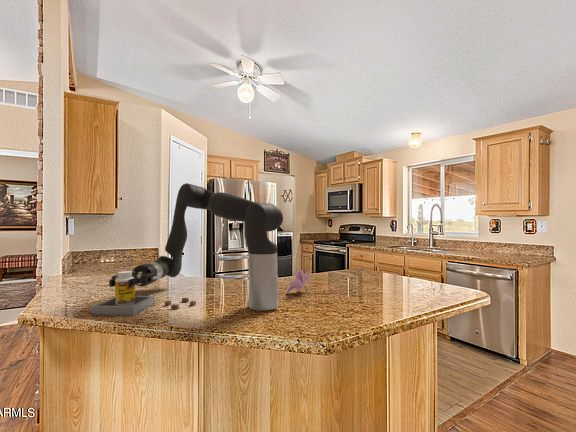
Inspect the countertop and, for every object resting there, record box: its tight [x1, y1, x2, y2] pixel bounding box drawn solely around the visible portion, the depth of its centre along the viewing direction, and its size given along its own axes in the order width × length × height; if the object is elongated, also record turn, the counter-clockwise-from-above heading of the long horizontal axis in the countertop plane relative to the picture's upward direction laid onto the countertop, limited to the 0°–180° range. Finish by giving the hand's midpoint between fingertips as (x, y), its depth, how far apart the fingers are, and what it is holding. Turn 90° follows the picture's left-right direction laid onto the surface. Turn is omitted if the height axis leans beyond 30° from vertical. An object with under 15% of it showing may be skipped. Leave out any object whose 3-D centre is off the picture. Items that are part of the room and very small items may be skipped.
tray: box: [90, 295, 156, 317], centre depth 98 cm, size 13×13×3 cm
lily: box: [285, 268, 312, 296], centre depth 115 cm, size 12×12×10 cm
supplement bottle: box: [114, 270, 136, 306], centre depth 98 cm, size 6×6×10 cm
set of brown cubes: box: [164, 297, 197, 310], centre depth 102 cm, size 10×10×1 cm
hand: (120, 283), depth 95 cm, fingers closed on supplement bottle, 5 cm apart
